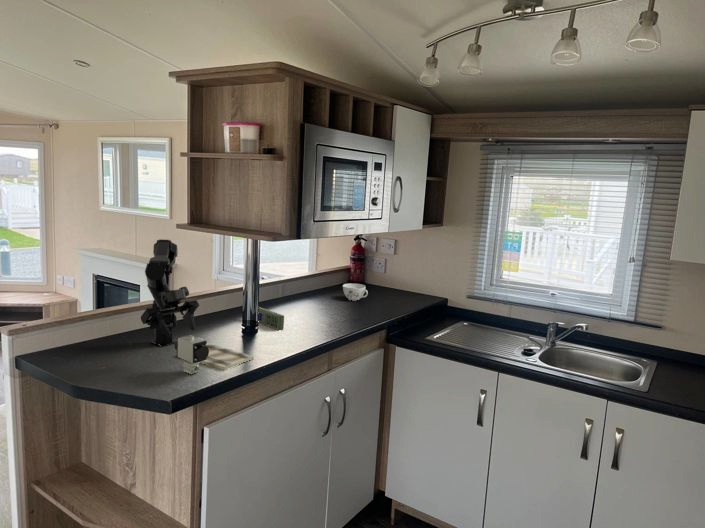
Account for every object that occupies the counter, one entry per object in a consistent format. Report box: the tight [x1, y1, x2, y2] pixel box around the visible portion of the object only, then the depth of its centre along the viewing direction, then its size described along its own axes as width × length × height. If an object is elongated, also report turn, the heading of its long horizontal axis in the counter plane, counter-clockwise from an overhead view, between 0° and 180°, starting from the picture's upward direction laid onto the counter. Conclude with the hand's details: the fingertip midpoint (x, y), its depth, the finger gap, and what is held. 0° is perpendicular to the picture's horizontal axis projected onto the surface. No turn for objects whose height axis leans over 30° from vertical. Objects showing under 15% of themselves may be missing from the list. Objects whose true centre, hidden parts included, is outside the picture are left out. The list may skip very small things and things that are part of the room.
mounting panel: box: [199, 342, 255, 371], centre depth 176 cm, size 22×14×2 cm, turn 59°
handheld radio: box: [258, 306, 285, 331], centre depth 221 cm, size 7×3×25 cm
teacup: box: [342, 282, 369, 302], centre depth 277 cm, size 15×12×8 cm
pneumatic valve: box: [174, 334, 209, 375], centre depth 161 cm, size 6×12×12 cm, turn 54°
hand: (182, 332), depth 163 cm, fingers open, 9 cm apart
